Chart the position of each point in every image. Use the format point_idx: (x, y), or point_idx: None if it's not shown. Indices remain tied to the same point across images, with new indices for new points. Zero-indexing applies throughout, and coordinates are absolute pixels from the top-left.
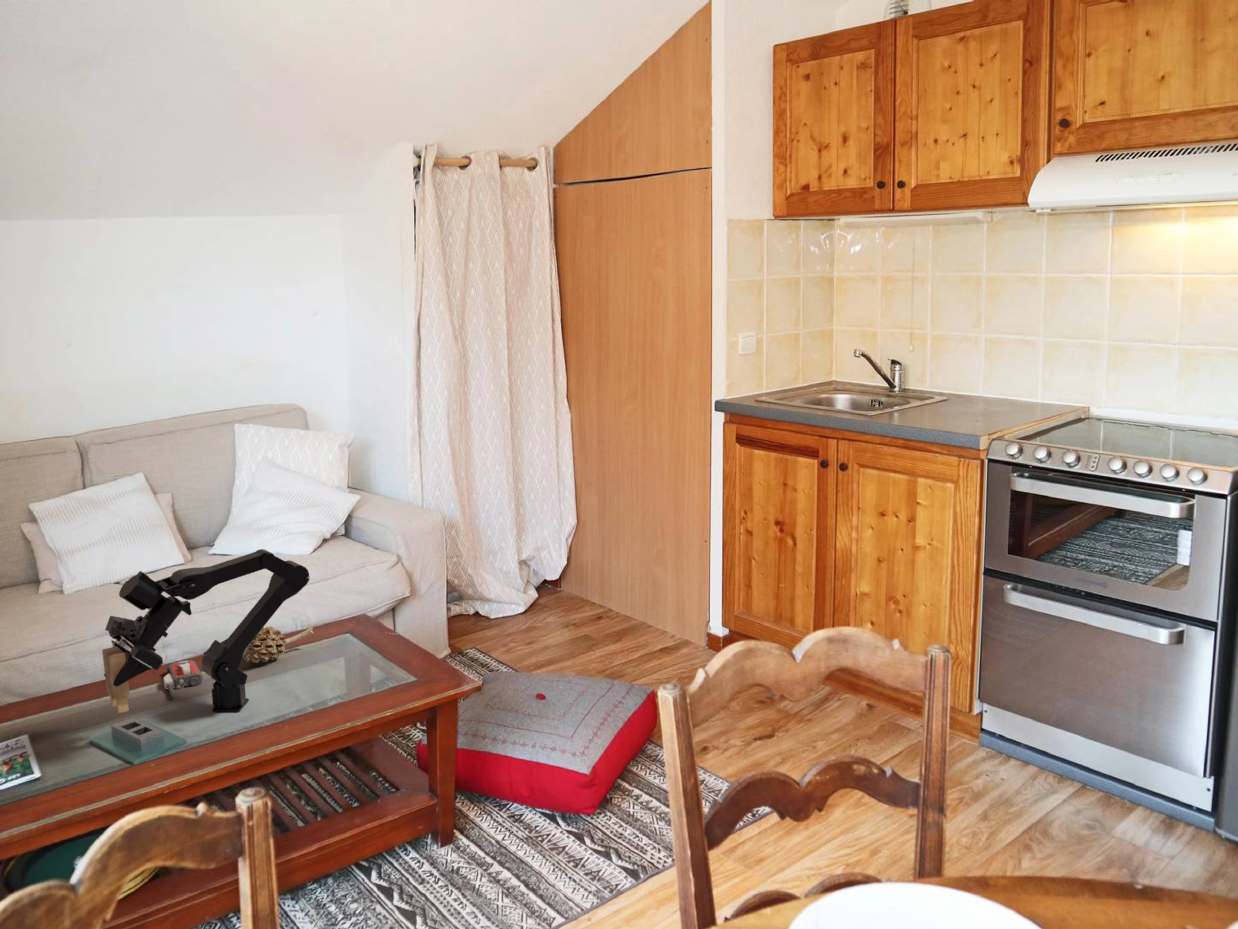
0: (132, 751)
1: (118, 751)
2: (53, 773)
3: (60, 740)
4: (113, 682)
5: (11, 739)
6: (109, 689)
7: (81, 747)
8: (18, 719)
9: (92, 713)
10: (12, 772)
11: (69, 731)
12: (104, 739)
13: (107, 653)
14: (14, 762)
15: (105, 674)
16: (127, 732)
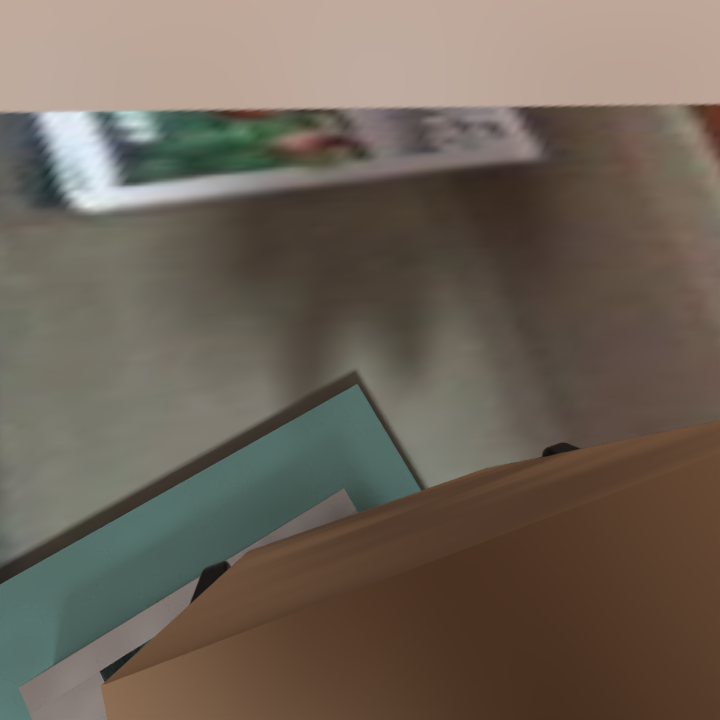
0: (72, 609)
1: (116, 531)
2: (73, 253)
3: (428, 270)
4: (220, 574)
5: (509, 109)
6: (408, 497)
7: (310, 354)
8: (695, 127)
9: (687, 388)
10: (177, 116)
11: (513, 302)
12: (313, 454)
13: (548, 554)
14: (275, 121)
15: (538, 460)
16: (190, 591)
